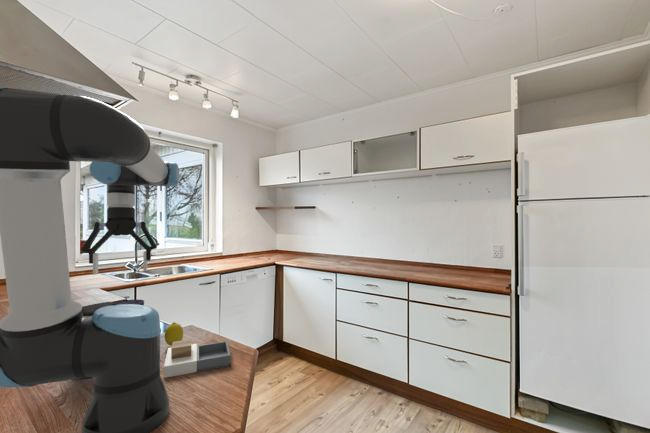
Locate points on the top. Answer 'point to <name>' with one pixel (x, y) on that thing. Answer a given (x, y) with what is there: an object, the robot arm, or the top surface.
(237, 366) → the top surface
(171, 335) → the lemon
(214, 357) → the tray
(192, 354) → the board
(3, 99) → the robot arm
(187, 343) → the brown wooden block
